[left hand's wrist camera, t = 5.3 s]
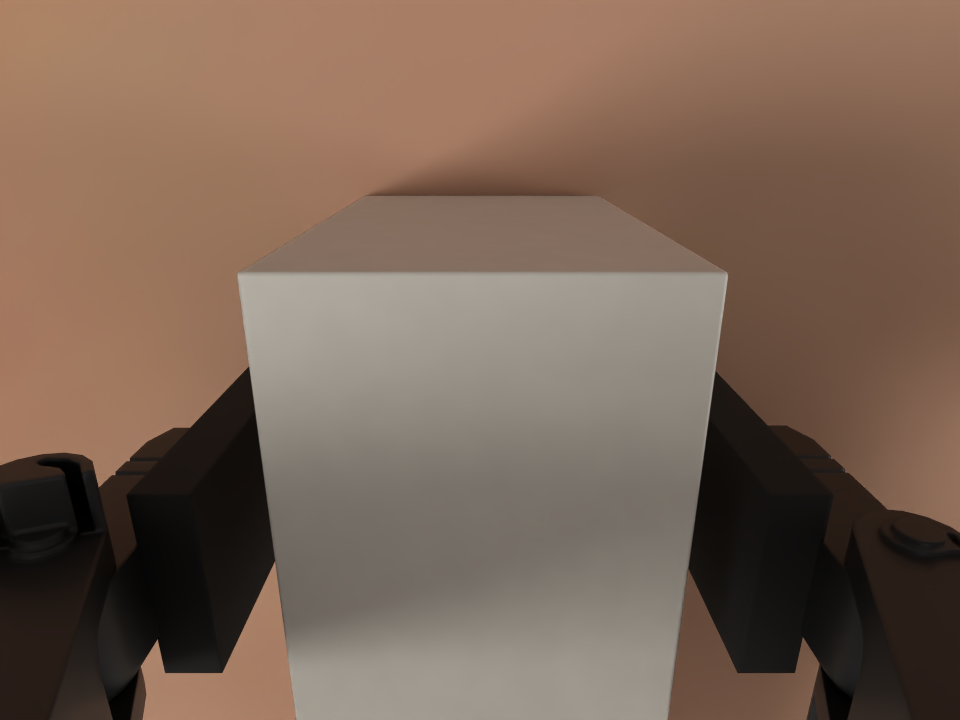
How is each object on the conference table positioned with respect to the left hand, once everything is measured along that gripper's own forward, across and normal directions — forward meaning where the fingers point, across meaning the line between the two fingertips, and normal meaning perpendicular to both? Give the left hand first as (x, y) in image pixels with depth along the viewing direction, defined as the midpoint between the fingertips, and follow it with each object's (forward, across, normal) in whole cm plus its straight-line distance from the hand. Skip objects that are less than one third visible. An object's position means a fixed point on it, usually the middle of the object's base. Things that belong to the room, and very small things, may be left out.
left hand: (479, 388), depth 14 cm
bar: (+1, 0, -27) cm, 27 cm away
